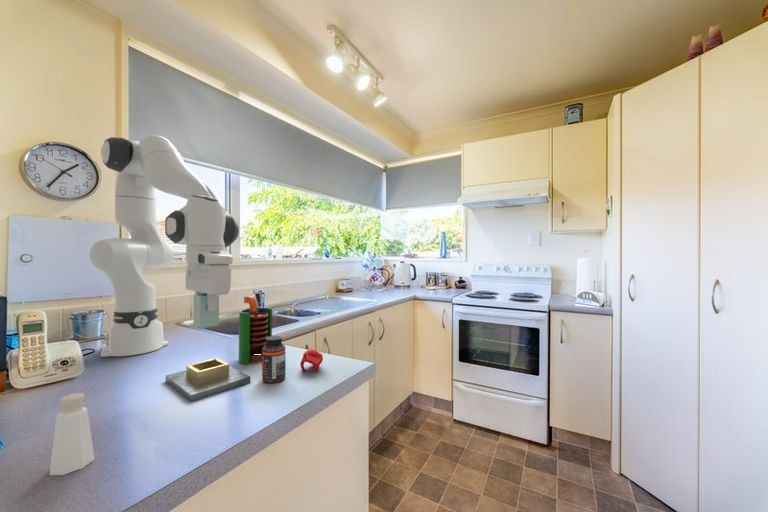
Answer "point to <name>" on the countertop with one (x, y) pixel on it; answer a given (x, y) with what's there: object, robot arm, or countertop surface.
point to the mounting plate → (206, 379)
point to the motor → (253, 331)
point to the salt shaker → (71, 437)
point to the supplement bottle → (273, 360)
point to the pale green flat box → (205, 312)
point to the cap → (312, 359)
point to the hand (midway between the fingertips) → (206, 309)
